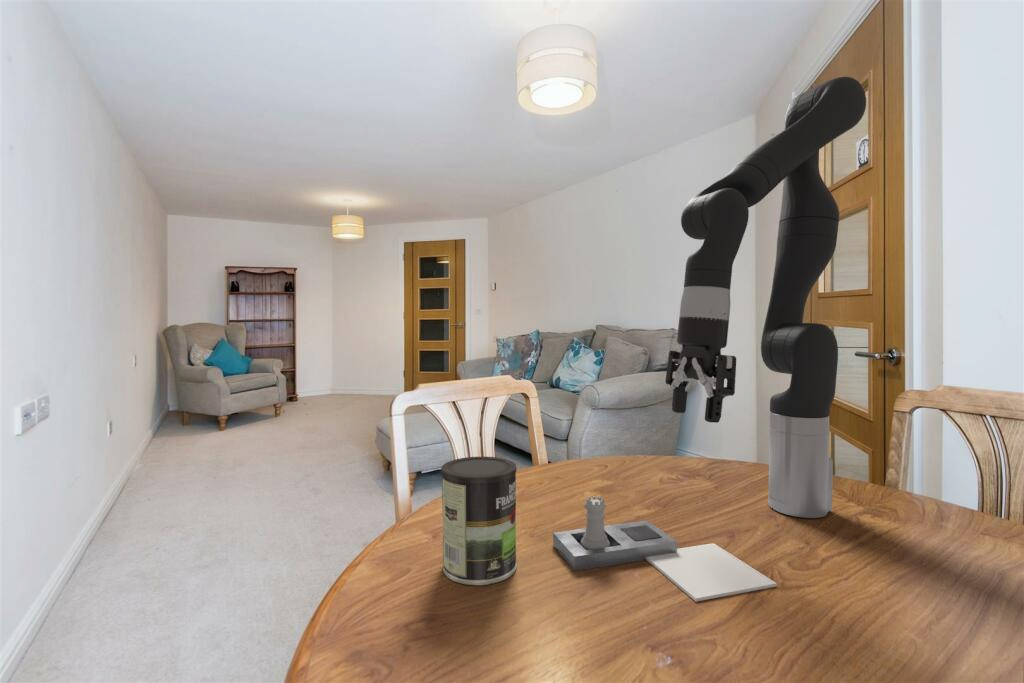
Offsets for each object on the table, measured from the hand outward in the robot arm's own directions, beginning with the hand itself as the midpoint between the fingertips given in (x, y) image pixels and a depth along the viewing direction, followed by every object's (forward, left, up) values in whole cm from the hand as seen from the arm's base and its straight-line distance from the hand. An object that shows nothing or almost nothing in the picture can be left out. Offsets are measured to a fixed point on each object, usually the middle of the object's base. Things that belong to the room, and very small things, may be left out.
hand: (694, 417), depth 80 cm
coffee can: (+36, +2, -19) cm, 41 cm away
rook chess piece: (+19, +3, -19) cm, 27 cm away
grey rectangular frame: (+16, +3, -18) cm, 25 cm away
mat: (+7, +12, -18) cm, 23 cm away
